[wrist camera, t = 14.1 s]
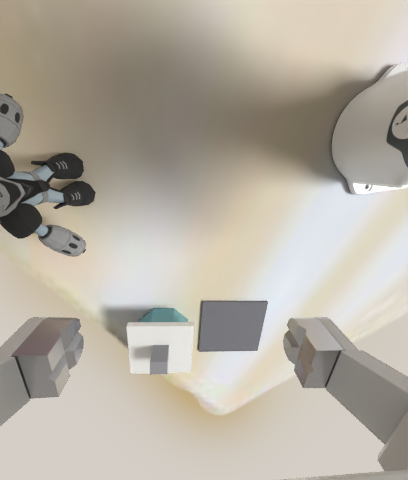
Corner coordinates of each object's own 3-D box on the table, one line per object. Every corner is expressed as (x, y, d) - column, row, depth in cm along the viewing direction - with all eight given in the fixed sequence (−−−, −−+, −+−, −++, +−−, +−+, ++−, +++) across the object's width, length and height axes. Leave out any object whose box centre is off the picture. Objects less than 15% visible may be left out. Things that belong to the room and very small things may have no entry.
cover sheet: (193, 322, 39) (194, 341, 34) (190, 367, 43) (191, 389, 39) (127, 322, 37) (120, 342, 33) (131, 368, 42) (125, 392, 37)
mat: (267, 301, 44) (267, 302, 44) (256, 349, 49) (257, 350, 49) (202, 300, 43) (202, 301, 43) (198, 350, 48) (198, 351, 48)
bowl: (188, 308, 43) (188, 326, 39) (186, 344, 47) (186, 364, 42) (139, 308, 42) (133, 326, 38) (141, 344, 46) (136, 365, 41)
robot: (27, 114, 29) (-255, 33, 11) (60, 106, 29) (-164, 11, 10) (86, 239, 36) (-20, 322, 18) (112, 233, 36) (35, 309, 18)
